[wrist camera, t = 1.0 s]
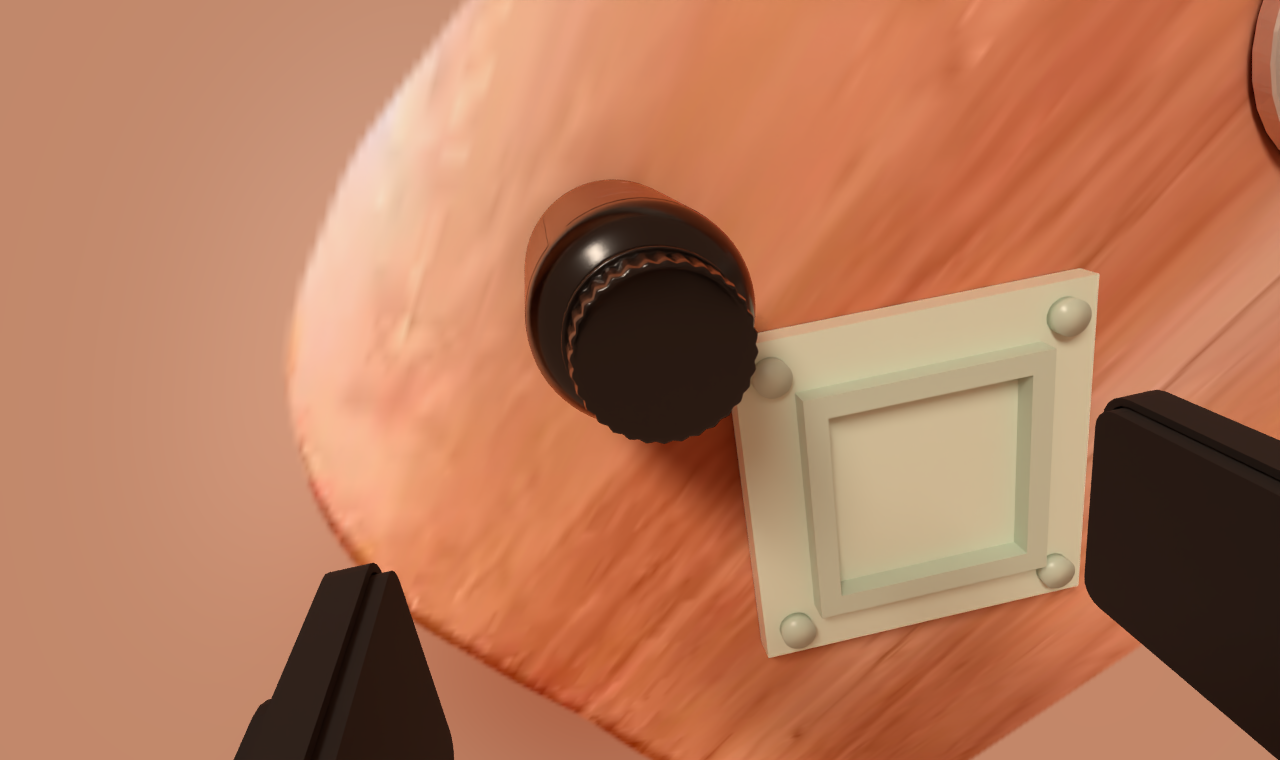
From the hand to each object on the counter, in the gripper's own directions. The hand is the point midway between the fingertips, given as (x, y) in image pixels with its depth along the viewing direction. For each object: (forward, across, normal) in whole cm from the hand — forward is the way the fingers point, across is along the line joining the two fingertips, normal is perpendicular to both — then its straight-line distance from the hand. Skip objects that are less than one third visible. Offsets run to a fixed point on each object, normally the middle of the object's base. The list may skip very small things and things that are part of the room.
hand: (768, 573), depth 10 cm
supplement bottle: (+21, 0, 0) cm, 21 cm away
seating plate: (+21, -12, +12) cm, 27 cm away
